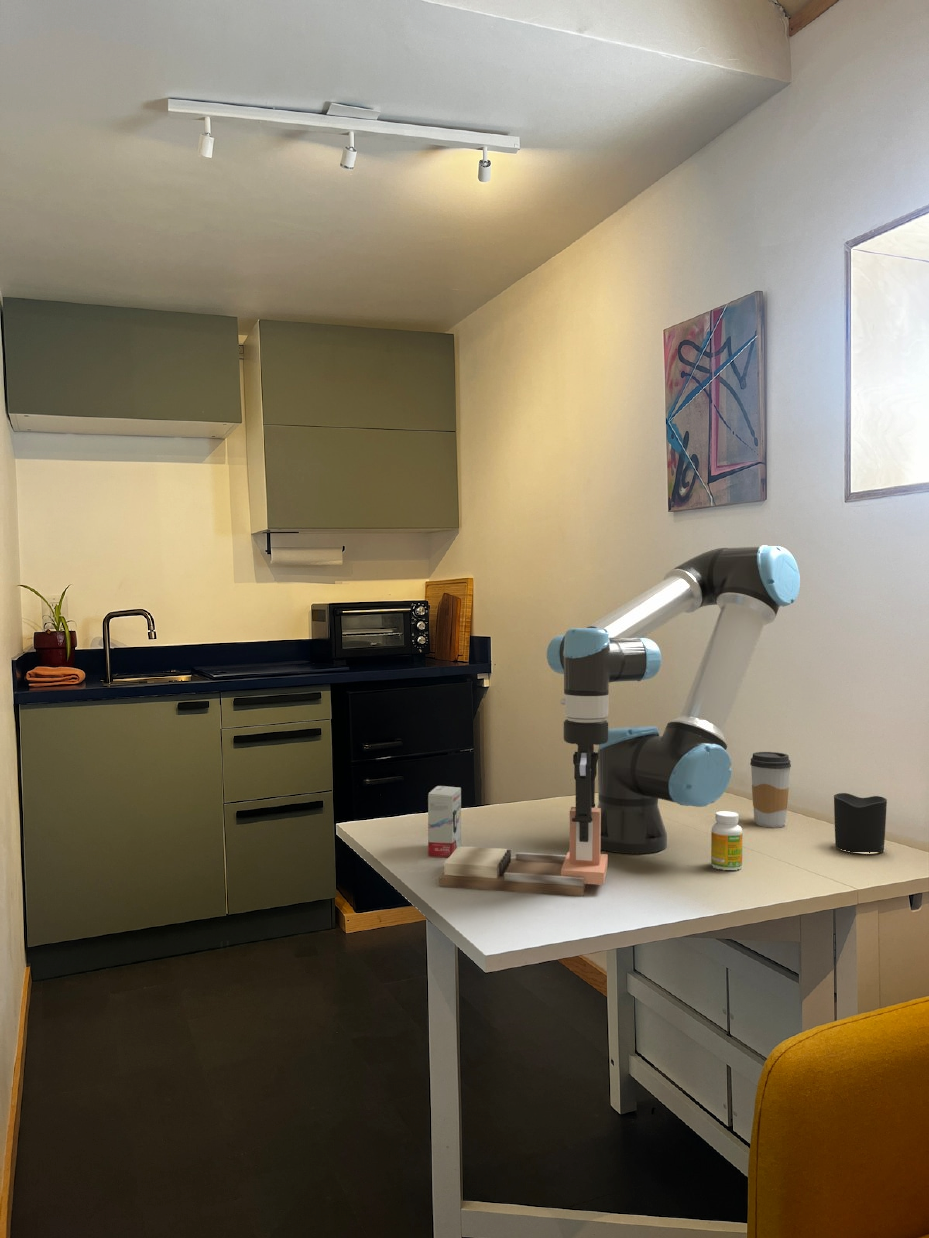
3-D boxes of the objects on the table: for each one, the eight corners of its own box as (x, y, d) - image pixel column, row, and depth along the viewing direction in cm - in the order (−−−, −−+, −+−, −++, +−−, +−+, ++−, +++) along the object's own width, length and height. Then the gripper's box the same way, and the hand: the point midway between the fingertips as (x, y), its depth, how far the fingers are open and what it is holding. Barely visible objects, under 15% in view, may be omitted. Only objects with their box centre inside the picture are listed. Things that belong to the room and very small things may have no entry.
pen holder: (859, 857, 174) (860, 804, 174) (822, 845, 183) (823, 794, 183) (897, 852, 178) (898, 800, 178) (859, 840, 186) (860, 791, 186)
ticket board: (589, 871, 165) (589, 850, 165) (582, 895, 152) (582, 873, 152) (457, 862, 170) (457, 842, 170) (439, 886, 157) (439, 864, 157)
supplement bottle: (729, 873, 164) (729, 818, 164) (704, 865, 169) (705, 812, 169) (748, 867, 168) (748, 814, 167) (723, 861, 172) (724, 808, 172)
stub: (607, 865, 163) (608, 803, 163) (603, 884, 152) (604, 817, 152) (567, 863, 165) (567, 801, 164) (560, 881, 154) (561, 815, 154)
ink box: (452, 858, 173) (452, 795, 173) (426, 856, 174) (427, 794, 174) (461, 846, 182) (462, 786, 181) (437, 844, 183) (437, 784, 182)
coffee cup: (794, 822, 201) (795, 753, 201) (785, 831, 194) (785, 759, 194) (755, 817, 205) (756, 750, 205) (744, 825, 198) (745, 755, 198)
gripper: (568, 712, 166) (567, 843, 167) (558, 724, 151) (557, 868, 151) (610, 713, 165) (609, 845, 166) (605, 726, 149) (604, 871, 150)
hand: (585, 856), depth 158 cm, fingers closed on stub, 3 cm apart
